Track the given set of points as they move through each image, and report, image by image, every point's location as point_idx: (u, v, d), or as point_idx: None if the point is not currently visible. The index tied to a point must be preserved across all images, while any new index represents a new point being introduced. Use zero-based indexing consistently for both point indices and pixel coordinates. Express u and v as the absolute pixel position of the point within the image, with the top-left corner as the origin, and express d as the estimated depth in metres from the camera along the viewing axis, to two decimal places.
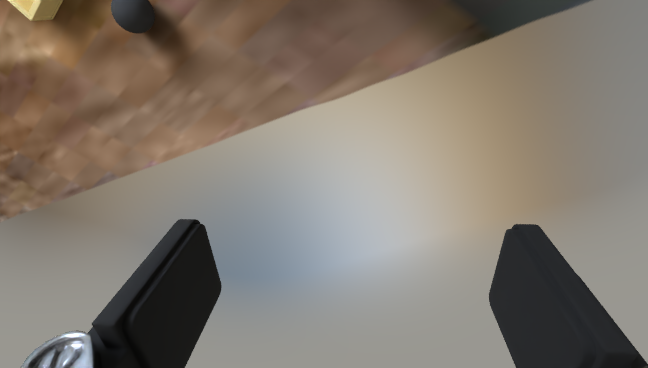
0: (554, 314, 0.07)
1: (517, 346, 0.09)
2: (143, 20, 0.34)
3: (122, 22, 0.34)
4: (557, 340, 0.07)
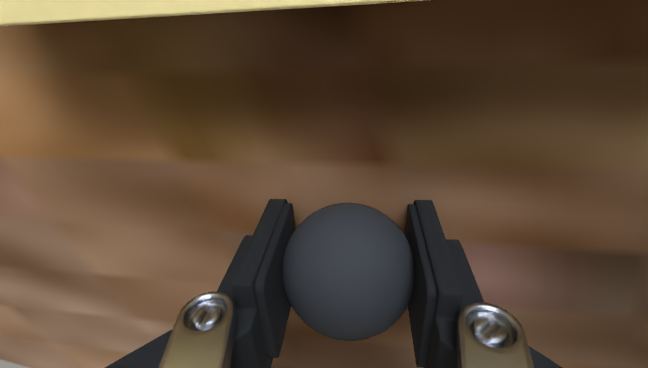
0: (420, 269, 0.08)
1: (410, 304, 0.10)
2: None
3: (315, 324, 0.09)
4: (420, 290, 0.08)
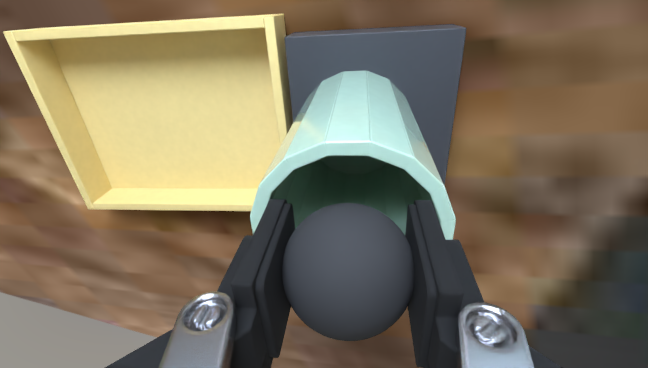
0: (420, 269, 0.08)
1: (410, 304, 0.10)
2: None
3: (314, 324, 0.09)
4: (420, 290, 0.08)
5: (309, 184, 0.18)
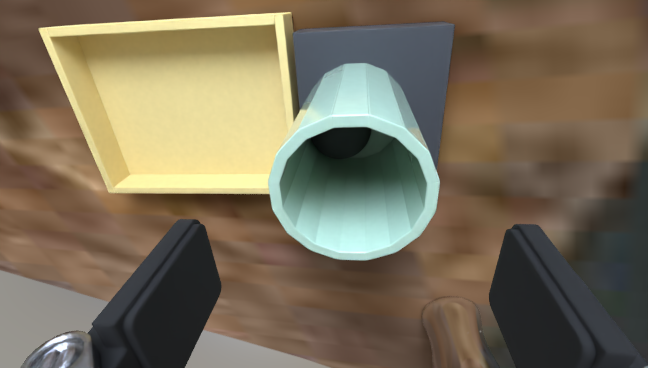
0: (554, 314, 0.07)
1: (517, 346, 0.09)
2: (341, 158, 0.21)
3: (314, 140, 0.20)
4: (557, 340, 0.07)
5: (314, 163, 0.21)
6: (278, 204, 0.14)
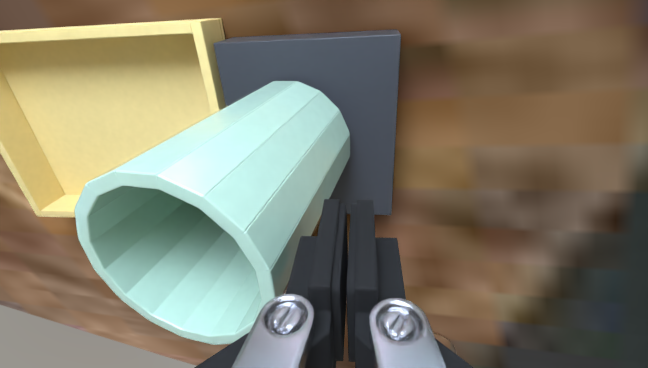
0: None
1: None
2: None
3: None
4: None
5: None
6: (98, 265, 0.11)
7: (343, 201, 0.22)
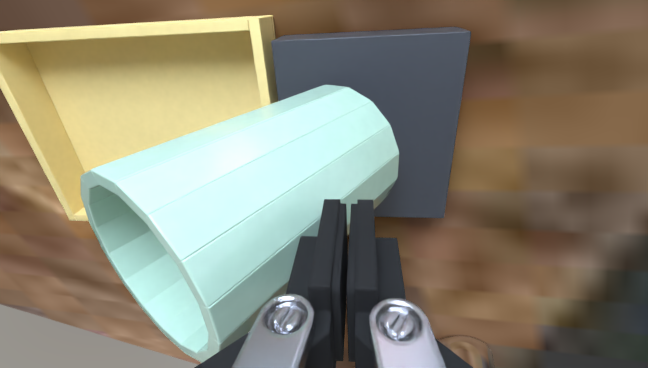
0: None
1: None
2: None
3: None
4: None
5: None
6: (104, 248, 0.12)
7: (394, 204, 0.21)
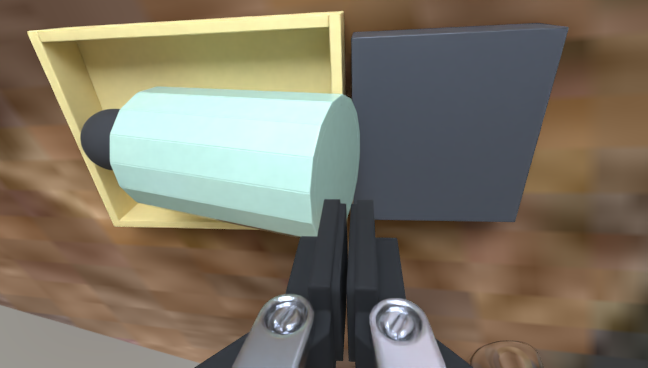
0: None
1: None
2: None
3: None
4: None
5: None
6: None
7: (464, 208, 0.20)
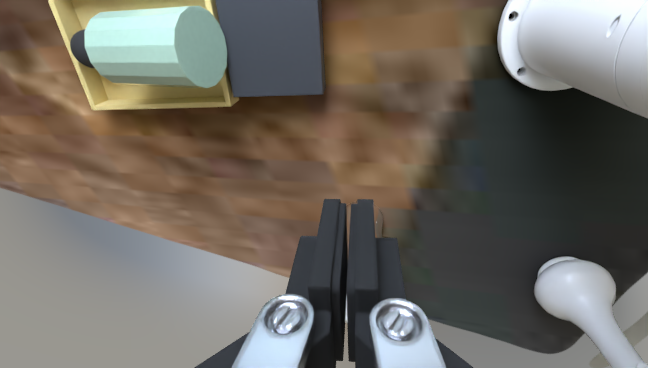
0: None
1: None
2: None
3: None
4: None
5: None
6: None
7: (293, 86, 0.35)
